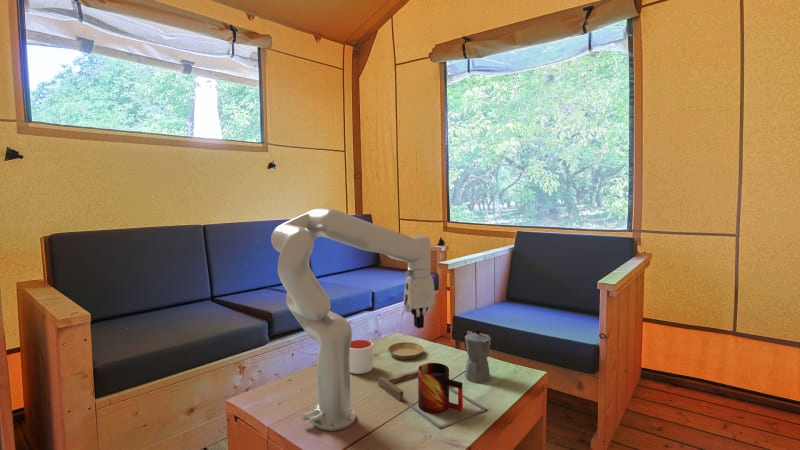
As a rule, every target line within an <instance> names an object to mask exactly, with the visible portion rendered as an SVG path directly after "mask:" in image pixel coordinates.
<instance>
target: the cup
mask: <svg viewBox="0 0 800 450" xmlns="http://www.w3.org/2000/svg"><path fill="white" fill-rule="evenodd" d="M373 368H374V343H373V342H372V341H371V340H367V339H355V340H351V345H350V373H351V374H354V375H363V374H368V373H370V372H371V371H372V370H373Z"/></svg>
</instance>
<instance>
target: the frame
mask: <svg viewBox="0 0 800 450" xmlns="http://www.w3.org/2000/svg"><path fill="white" fill-rule="evenodd" d="M449 391H451V392H453V393H454V394H455V395H457V396H458V390H455V388H452V387H449ZM462 399H463V400H466V401H468V402H469V403H471V404H472V405H475V406H476V407H477V408H479V410H476V411H474V412H471V413H469V414H466V415H464V416H462V417H459V418H456V419H453V420H451V421H448V422H446V423H444V424H439V423H438V422H437V421H435V420H433V418H431V417H430V416H427V414H426V413H425V412H423V411H422V410H420V409H418V408H417V407H415V406H414V405H413V404H412V403H410V402H406V403H405V405H406V406H408V407H409V408H410V409H412V410H413V411H415V413H417V414H418V415H420V416H421V417H422V418H424V419H425V420H427V422H429V423H431V425H434V427H436V428H438V429H439V430H442V429H444V428H447V427H449V426H452V425H454V424H456V423H460V422H461V421H464V420H466V419H469V418H471V417H475V416H477V415H479V414H481V413H485V412H487V411H488V410H489V409H488V408H487V407H485V406H483V405H481V404H480V403H478V402H476V401H475V400H473V399H471V398H469V396H466V395H464V394H463V393H462Z"/></svg>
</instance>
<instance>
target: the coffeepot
mask: <svg viewBox="0 0 800 450" xmlns="http://www.w3.org/2000/svg"><path fill="white" fill-rule="evenodd" d="M462 338H463V342H464V347H465V351H466V353H467V356H468V358H467V360H466V365H465V371H464V376H465V380H467V381H469V382H471V383H476V384H483V383H487V382H489V381H490V380H491V373H490V367H489V361H488V357H489V354H490V348H491V342H492V337H490V335H489V334H485V333H481V329H480V328H475V332H473V331H470V330H468V329H465V330H464V331H463V333H462Z"/></svg>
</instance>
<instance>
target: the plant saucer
mask: <svg viewBox="0 0 800 450" xmlns="http://www.w3.org/2000/svg"><path fill="white" fill-rule="evenodd" d="M387 351H388V353H389V354H390V355H391V356H392V357H394V358H395V359H399V360H412V359H416V358H417V357H419V356H420V355H421V354H423V352H424V347H423V346H422V345H420V344H418V343H415V342H406V341H405V342H398V343H397V342H396V343H394V344H391V345H389V346H388V347H387Z"/></svg>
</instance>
